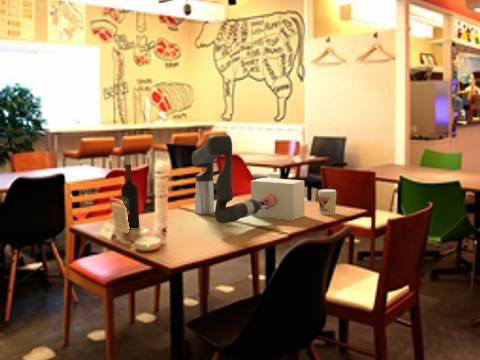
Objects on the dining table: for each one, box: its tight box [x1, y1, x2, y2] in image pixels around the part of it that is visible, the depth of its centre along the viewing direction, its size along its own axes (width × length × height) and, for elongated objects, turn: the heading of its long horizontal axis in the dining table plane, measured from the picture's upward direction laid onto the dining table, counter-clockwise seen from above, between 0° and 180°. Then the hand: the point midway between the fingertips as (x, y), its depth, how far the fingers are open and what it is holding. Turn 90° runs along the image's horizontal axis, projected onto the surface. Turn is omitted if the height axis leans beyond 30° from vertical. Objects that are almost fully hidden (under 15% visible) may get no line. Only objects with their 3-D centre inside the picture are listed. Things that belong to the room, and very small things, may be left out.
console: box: [250, 177, 306, 221], centre depth 280 cm, size 12×24×18 cm, turn 56°
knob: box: [261, 194, 276, 208], centre depth 275 cm, size 10×6×6 cm, turn 146°
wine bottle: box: [120, 163, 140, 230], centre depth 261 cm, size 8×8×30 cm
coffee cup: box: [317, 188, 337, 216], centre depth 283 cm, size 9×9×12 cm
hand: (266, 202), depth 271 cm, fingers closed
